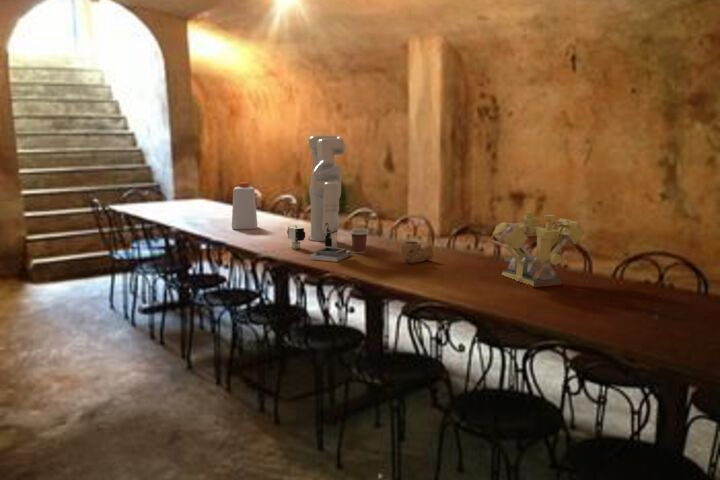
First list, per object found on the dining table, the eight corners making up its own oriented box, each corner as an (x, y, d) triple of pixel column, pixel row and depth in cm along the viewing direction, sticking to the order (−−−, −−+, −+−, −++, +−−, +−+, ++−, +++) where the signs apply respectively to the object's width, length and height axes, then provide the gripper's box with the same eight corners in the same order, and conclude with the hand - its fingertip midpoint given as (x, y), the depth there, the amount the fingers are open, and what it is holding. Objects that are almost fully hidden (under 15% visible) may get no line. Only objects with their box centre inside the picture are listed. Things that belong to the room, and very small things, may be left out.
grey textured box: (435, 261, 290) (436, 240, 288) (412, 266, 279) (412, 244, 277) (421, 258, 296) (422, 238, 295) (397, 263, 286) (398, 241, 284)
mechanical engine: (521, 297, 230) (526, 217, 225) (467, 275, 263) (470, 205, 258) (600, 287, 246) (606, 213, 240) (539, 268, 279) (543, 202, 273)
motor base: (325, 252, 308) (325, 245, 307) (351, 254, 303) (351, 247, 302) (309, 259, 291) (309, 252, 290) (337, 261, 286) (337, 254, 286)
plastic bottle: (233, 226, 385) (232, 181, 380) (257, 226, 387) (257, 181, 382) (231, 230, 370) (229, 183, 365) (256, 230, 372) (255, 183, 367)
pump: (328, 245, 300) (328, 229, 298) (338, 246, 298) (338, 230, 296) (323, 247, 294) (323, 231, 293) (334, 248, 292) (334, 231, 291)
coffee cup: (356, 249, 316) (357, 226, 314) (371, 251, 311) (371, 228, 309) (346, 252, 309) (346, 228, 306) (361, 254, 303) (361, 230, 301)
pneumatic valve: (297, 250, 311) (297, 227, 309) (287, 246, 321) (286, 224, 319) (306, 249, 314) (306, 226, 312) (296, 245, 324) (296, 223, 322)
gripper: (331, 205, 302) (331, 241, 305) (316, 209, 286) (316, 247, 289) (345, 206, 299) (345, 242, 302) (331, 210, 283) (331, 249, 287)
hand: (331, 244), depth 296 cm, fingers closed on pump, 5 cm apart
